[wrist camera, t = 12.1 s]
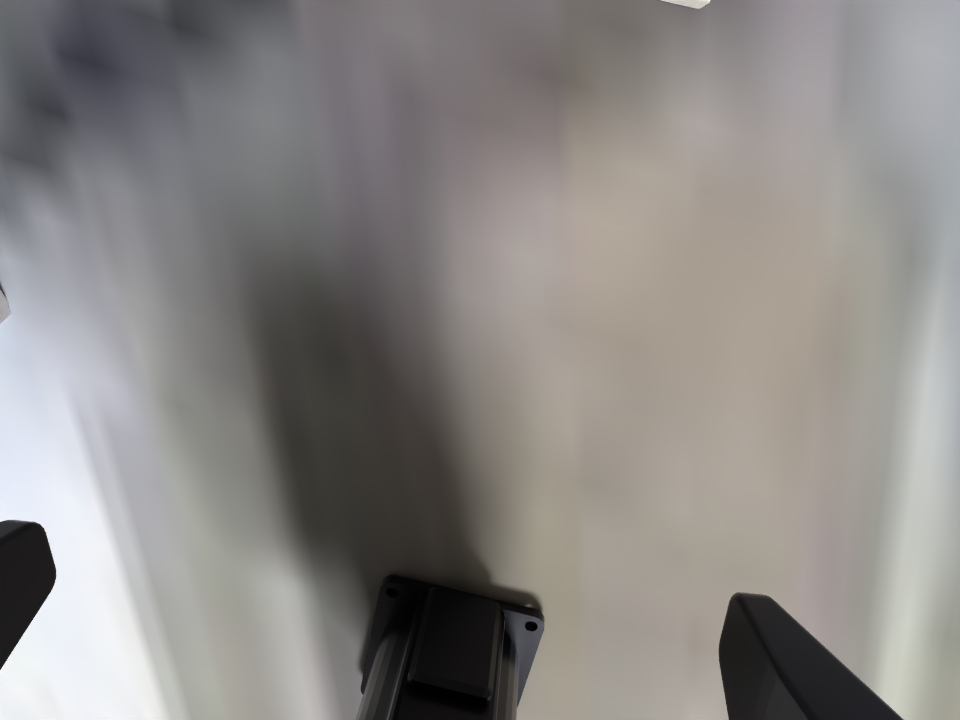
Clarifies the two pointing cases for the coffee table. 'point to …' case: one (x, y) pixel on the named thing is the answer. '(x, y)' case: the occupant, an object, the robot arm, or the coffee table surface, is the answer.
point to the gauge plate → (690, 3)
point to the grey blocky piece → (4, 307)
